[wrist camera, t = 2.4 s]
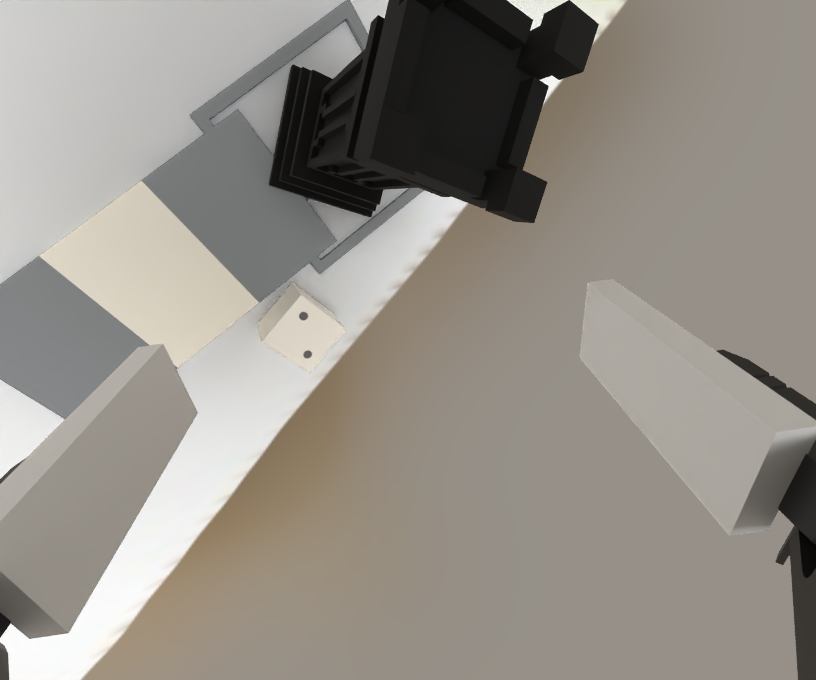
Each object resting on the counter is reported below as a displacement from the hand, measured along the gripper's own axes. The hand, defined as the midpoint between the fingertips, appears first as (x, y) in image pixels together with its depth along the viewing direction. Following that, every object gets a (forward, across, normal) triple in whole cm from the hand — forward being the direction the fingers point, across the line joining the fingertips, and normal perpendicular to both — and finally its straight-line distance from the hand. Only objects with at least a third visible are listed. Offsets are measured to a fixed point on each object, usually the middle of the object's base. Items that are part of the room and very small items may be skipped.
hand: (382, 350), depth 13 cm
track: (+18, -16, -2) cm, 24 cm away
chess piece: (+23, -3, +4) cm, 24 cm away
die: (+20, -8, -8) cm, 23 cm away
